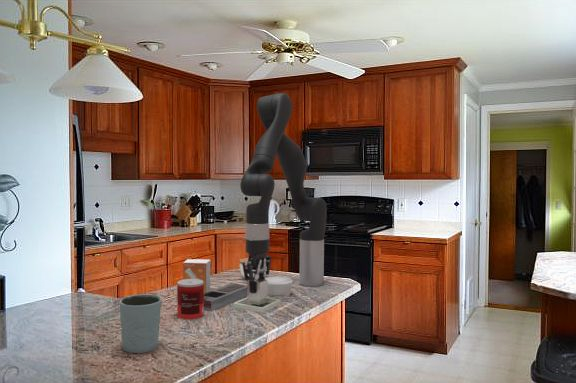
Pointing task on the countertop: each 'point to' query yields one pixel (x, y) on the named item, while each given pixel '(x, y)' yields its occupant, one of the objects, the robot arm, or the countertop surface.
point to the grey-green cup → (140, 322)
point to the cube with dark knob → (261, 292)
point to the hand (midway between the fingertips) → (257, 290)
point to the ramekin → (279, 286)
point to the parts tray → (242, 305)
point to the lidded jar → (242, 266)
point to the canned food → (190, 298)
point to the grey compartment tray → (224, 296)
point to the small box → (197, 271)
